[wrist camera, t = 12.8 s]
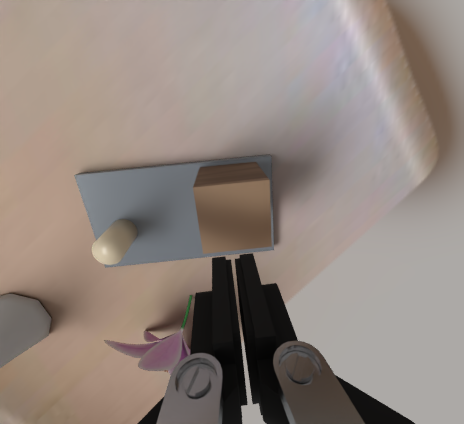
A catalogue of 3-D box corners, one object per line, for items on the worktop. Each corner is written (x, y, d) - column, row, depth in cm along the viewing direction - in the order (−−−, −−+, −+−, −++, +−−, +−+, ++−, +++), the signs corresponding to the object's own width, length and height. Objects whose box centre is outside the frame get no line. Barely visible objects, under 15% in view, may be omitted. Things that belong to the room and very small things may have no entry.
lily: (115, 287, 30) (75, 384, 23) (186, 268, 24) (157, 391, 18) (185, 317, 37) (168, 398, 31) (252, 309, 31) (248, 407, 25)
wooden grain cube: (199, 167, 23) (192, 187, 17) (255, 161, 23) (269, 179, 17) (206, 218, 25) (203, 253, 19) (258, 213, 25) (271, 246, 19)
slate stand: (78, 173, 23) (45, 187, 19) (269, 154, 23) (281, 164, 19) (108, 263, 27) (86, 293, 22) (272, 246, 27) (283, 272, 23)
